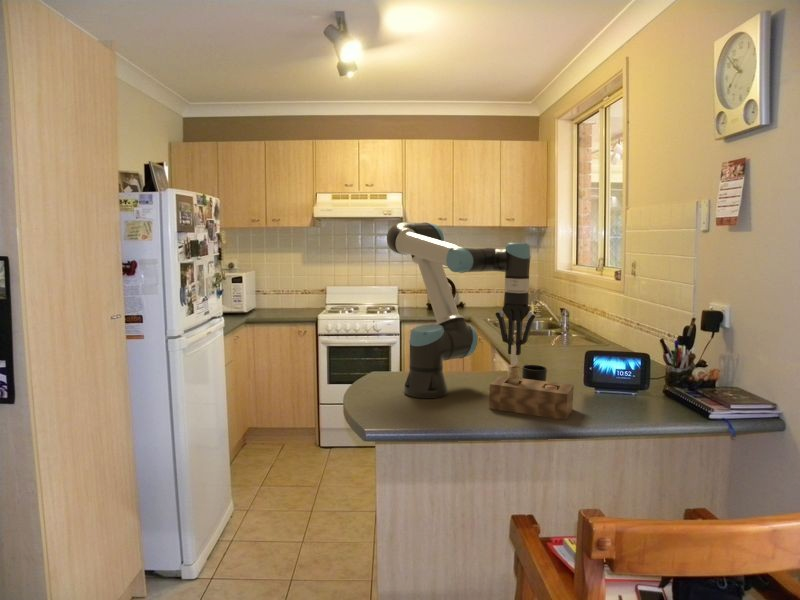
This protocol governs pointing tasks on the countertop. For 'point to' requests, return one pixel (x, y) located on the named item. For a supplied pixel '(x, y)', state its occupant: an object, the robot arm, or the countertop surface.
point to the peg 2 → (551, 387)
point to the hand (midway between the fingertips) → (513, 364)
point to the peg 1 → (513, 375)
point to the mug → (534, 372)
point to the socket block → (532, 397)
